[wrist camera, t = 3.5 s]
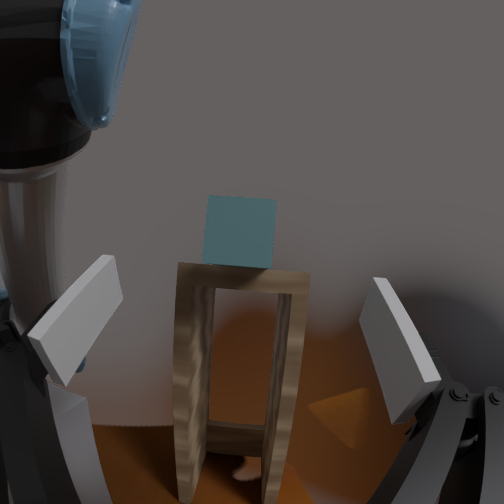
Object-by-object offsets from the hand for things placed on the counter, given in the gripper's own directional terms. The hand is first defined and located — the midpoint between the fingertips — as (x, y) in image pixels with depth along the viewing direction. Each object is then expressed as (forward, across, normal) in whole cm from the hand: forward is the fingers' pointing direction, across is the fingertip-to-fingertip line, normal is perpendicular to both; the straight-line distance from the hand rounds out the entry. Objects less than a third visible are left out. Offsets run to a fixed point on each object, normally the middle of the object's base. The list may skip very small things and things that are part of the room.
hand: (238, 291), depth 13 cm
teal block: (+13, 0, -6) cm, 15 cm away
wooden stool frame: (+1, 0, -35) cm, 35 cm away
